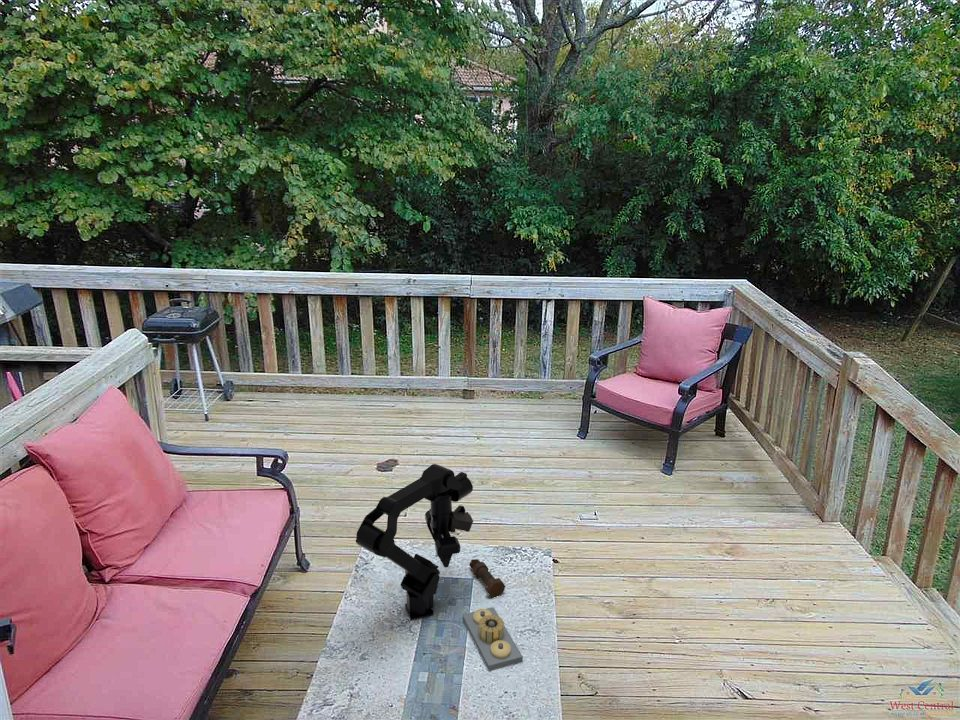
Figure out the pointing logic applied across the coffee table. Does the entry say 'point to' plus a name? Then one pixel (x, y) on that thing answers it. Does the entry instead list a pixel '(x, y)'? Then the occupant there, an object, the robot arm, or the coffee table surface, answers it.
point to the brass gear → (491, 629)
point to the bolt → (487, 578)
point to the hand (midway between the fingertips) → (442, 557)
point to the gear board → (499, 650)
